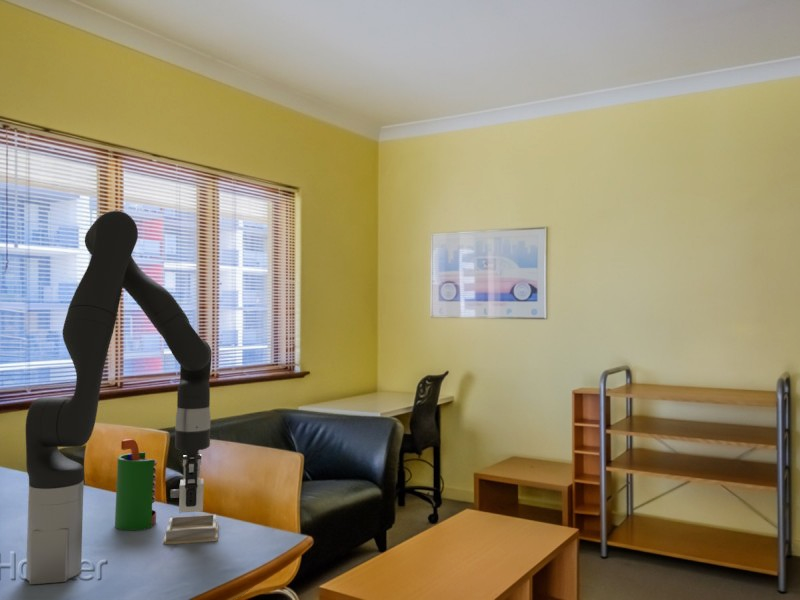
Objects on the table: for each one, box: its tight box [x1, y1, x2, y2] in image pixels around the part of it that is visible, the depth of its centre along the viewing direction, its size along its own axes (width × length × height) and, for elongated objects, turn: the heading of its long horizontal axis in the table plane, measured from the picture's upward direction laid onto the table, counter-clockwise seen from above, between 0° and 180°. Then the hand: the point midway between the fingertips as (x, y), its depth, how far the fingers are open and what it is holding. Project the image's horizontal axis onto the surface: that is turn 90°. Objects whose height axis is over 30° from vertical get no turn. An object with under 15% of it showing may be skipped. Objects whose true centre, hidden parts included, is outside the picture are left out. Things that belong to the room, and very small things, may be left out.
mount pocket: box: [162, 513, 219, 546], centre depth 147 cm, size 11×11×3 cm
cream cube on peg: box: [170, 477, 204, 514], centre depth 148 cm, size 5×7×6 cm
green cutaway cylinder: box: [114, 438, 158, 531], centre depth 154 cm, size 10×9×20 cm
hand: (191, 502), depth 148 cm, fingers closed on cream cube on peg, 5 cm apart
